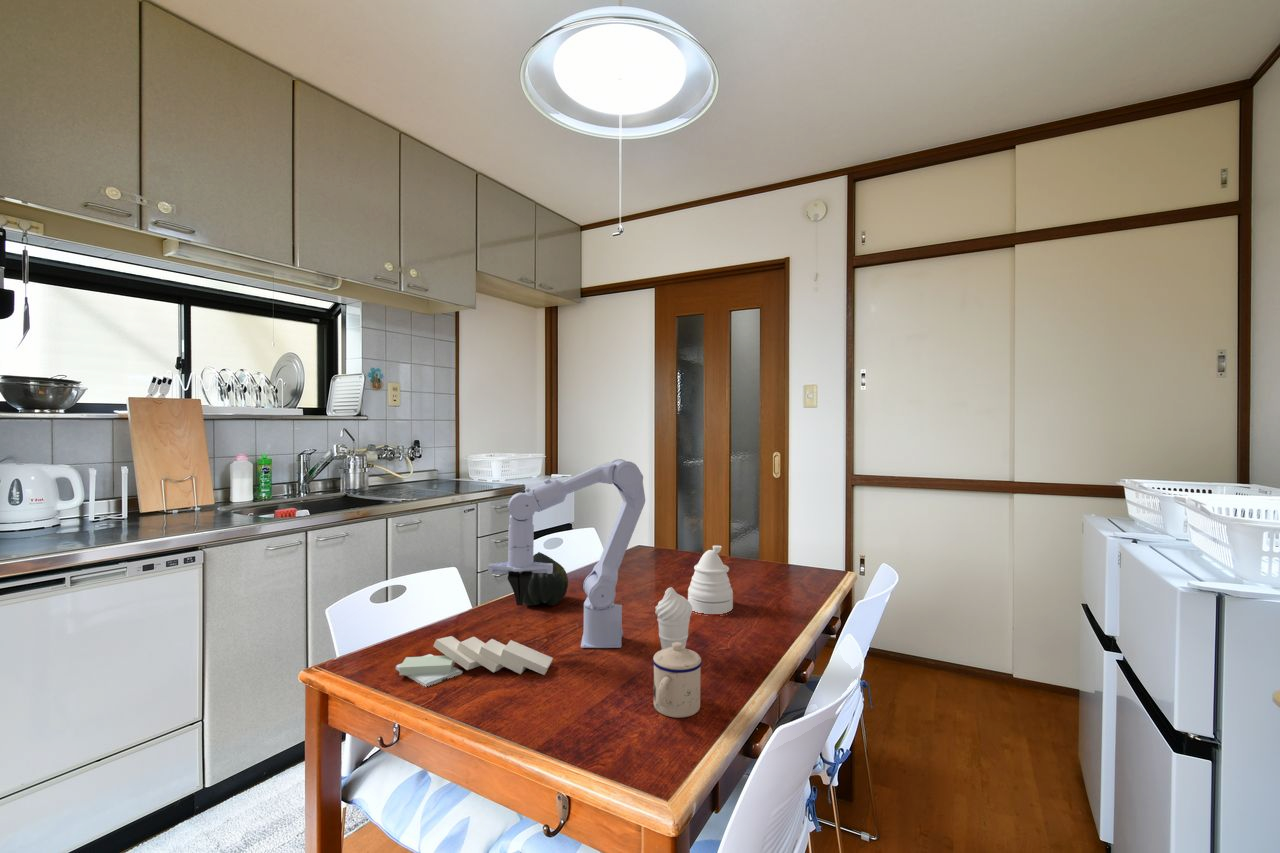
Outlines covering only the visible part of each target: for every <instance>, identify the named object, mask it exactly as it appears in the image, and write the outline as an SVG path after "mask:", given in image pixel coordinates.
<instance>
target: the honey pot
mask: <svg viewBox="0 0 1280 853" xmlns="http://www.w3.org/2000/svg"><path fill="white" fill-rule="evenodd" d="M722 548H723V547H722V546H721V545H716V544H715V545H712V549H708V550H706V551H705V552H704V553H703V554H702V556H701V557H700V559H699V561H698V562H697V564H695V565H694V566H693V569H694V573H693V575H692V576H691V581H690V584H689V586H688V589H687V600H688V601H689V602H690V604H691V606H692V611H695V612H698V613H704V614H723V613H727V612H729V611H731V610H732V609H734V601H733V600H734V592H733V588H732V587H731V583H730V578H729V577H728V576H729V575H728V572H729V571H730V567H729V566H728V565H726V564H724V563H723V561H722V559H721V557H720V555H719V553H721V550H722Z"/></svg>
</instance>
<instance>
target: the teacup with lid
mask: <svg viewBox="0 0 1280 853" xmlns="http://www.w3.org/2000/svg"><path fill="white" fill-rule="evenodd" d="M652 663H653V707H654V709H655V710H656V711H657V712H658V713H659V714H661V715H662V716H666V717H670V718H675V719H677V718H679V719H680V718H681V719H682V718H688V717H691V716H693V715H695V714H696V713H698V712H699V711H700V708H701V667H702V665H703V660H702V657H701V656H700V654H699V653H697V652H696V651H694V650H692V649H688V648H686V647H685V648H684V647H683V645H682V643H680V642H674V643H673V644H672V647H669V648H666V649H662V648H661V649H660V650H658V651H657V652H655V654H654V655H653V658H652Z"/></svg>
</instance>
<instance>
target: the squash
mask: <svg viewBox="0 0 1280 853" xmlns="http://www.w3.org/2000/svg"><path fill="white" fill-rule="evenodd" d="M533 562H538V563H553V572H552V574H547V573H533V575H532V577H531V580H530V582H529V585H528V587H527V590H526V594H525V599H524V604H523V605H527V606H530V607H531V606H532V607H533V606H536V605H540V604H541V603H543V604H547V605H549V606H555V605H557V604H559V603H560V601H561V600H562V599H563V598H565V596H566V594H567V591H568V588H569V577H568V574H567V572H566V569H565V568H564V567H563V566H562V565H561V564H560V563H558V561H555V560H554V559H553V558H551V557H550V556H548V555H546V554H545V553H542V552H540V551H537V553H535V554H533Z"/></svg>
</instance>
